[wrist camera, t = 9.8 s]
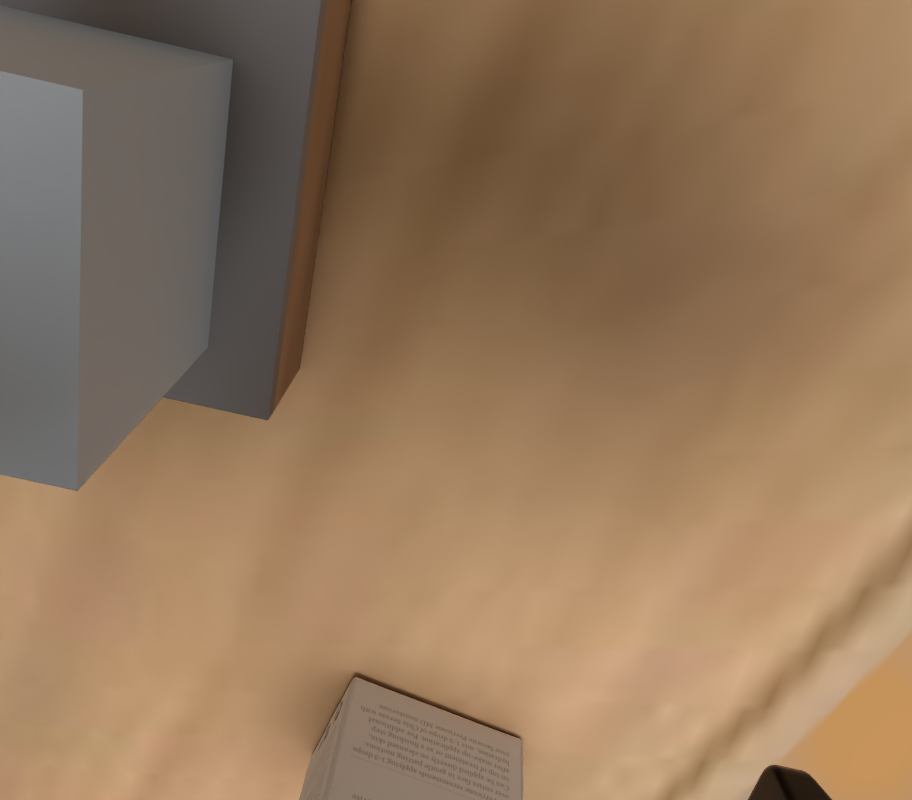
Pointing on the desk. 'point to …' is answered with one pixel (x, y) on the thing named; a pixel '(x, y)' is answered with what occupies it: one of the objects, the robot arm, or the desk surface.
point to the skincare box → (409, 753)
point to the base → (251, 174)
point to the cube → (100, 234)
